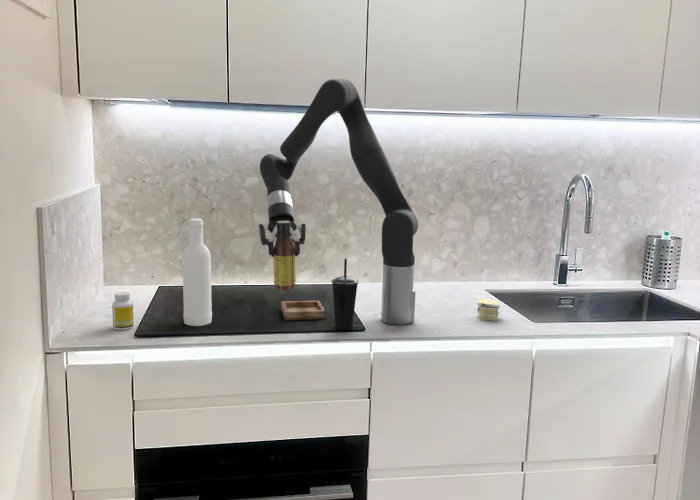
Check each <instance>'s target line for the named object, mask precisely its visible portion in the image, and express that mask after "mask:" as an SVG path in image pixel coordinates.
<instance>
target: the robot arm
mask: <svg viewBox="0 0 700 500" xmlns="http://www.w3.org/2000/svg"><path fill="white" fill-rule="evenodd" d="M361 99H362V98H361V97H360V94H359V91H358V89H357V86H355V84H354V83H353V82H352V81H351V80H350V79H349V80H348V79H345V78H331V79H327V80H326V81H324V82H323V84H322V85H321V86H320V87H319V89H318V91H317V93H316V94H315V95H314V98H313V100H312V101H311V103H310V105H309V107H308V108H307V110H306V111H305V112H304V114H303V116H302V118H301V119H300V120H299V122H298V123H297V125H296V126H295V127H294V128H293V130H291V132H290V133H289V134H288V135H287V137H286V138H285V139H284V140H283V142H282V143H281V145H280V147H279V150H280V153H281V154H282V156H283V157H285V158H282V157H280V156H277V155H275V154H272V153H268V154H265V155H264V156H263V157H262V158H261V160H260V163H259V173H260V175H261V178H262V181H263V183H264V185H265V188H266V192H267V217H268V224H266V225H265V224H263V223H260V224H258V234H259V238H260V243H261V245H262V246H267V247H268V249H267V250H268V255H269V256H270V257H271V258H273V257H274V246H275V242H276V239H277V227H276V222H277V221H290V223H291V226H290V238H291V239H292V241H293V243H294V247H295V257H298V256H299V255H300V253H301V248H300V246H301V245H305V242H306V228H307V226H306V223H301V224H297V223H296V221H295V214H294V206H293V200H292V195H291V187H290V183H289V180H290V179H291V178H292V176H293V174H294V173H295V172H294V171H295V169H296V168H297V166H298V163H299V161H300V159H301V157H302V156H303V155H304V154H305V153H306V152H307V151H308V149H309V148H310V147H311V145H312V144H313V143H314V141H315V139H316V137H317V134H318V131H319V130H320V127H321V126H322V125H323V124H324V122H325V121H326V120H328V119H329V117H331V116H332V115H333V114H334V113H335V112H338V114H339V115H340V117H341V119H342V121H343V123H344V125H345V127H346V130H347V133H348V142H349V151H350V155H351V158H352V161H353V163H354V165H355V168H356V170H357V172H358V173H359V175H360V177H361V179H362V180H363V182H364V183H365V185H366V186H367V187H368V188H369V190H370V191H371V192H372V194H373V195H375V197H376V198H377V200H378V201H379V203H380V205H381V207H382V210H383V212H384V214H385V218H384V219H383V221H382V227H381V255H382V281H381V283H382V285H381V289H382V290H381V314H380V315H381V316H380V320H381V322H383V323H386V324H390V325H406V324H410V323H415V312H416V311H415V309H416V291H415V290H414V285H415V284H414V281H415V259H416V257H415V255H414V254H415V253H414V251H413V250H414V249H413V248H414V245H413V244H414V236H415V235H416V233H417V231H418V228H419V220H418V218H417V215H416V213H415V212H414V211H413V209H412V207H411V206H410V204H409V201H407V199H406V197H405V195H404V193H403V192H402V189H401V188H400V186H399V182H398V181H397V178H396V176H395V174H394V171H393V169H392V166H391V165H390V162H389V160H388V158H387V155H386V153H385V151H384V149H383V147H382V145H381V143H380V141H379V139H378V137H377V136H376V133H375V131H374V129H373V126H372V124H371V123H370V121H369V118H368V116H367V113H366V111H365V108H364V105H363V103H362V100H361ZM267 230H268V231H269V233H271V234H270V237H269V238H267V237H266V233H267ZM296 230H297V231H298V233H299V234H300V238H299V237H298V235H297V234H296Z"/></svg>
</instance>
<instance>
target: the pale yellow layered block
mask: <svg viewBox="0 0 700 500" xmlns="http://www.w3.org/2000/svg"><path fill="white" fill-rule="evenodd" d="M477 301H478V302H477V303H476V304H477V307H478V308H477V309H476V313H477V314H478V319H479V320H485V321H486V320H487V321H488V320H489V321H493V322H495V321H496V322H497V320H498V318H499V315H500V311H499V309H500V307H501V305H500V303H501V301H499V300H494V299H489V298H477Z"/></svg>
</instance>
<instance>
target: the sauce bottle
mask: <svg viewBox="0 0 700 500" xmlns="http://www.w3.org/2000/svg"><path fill="white" fill-rule="evenodd" d="M290 226H291V223H290V221H277V222H276V227H277V238H276V240H275V242H274V257H272V258H273V259H272V260H273V281H274V282H273V284H274V288H275V290H278V291H291V290H294V289H295V288H296V282H297V281H296V256H295V247H294V243H293V241H292V239H291V238H290Z"/></svg>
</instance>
